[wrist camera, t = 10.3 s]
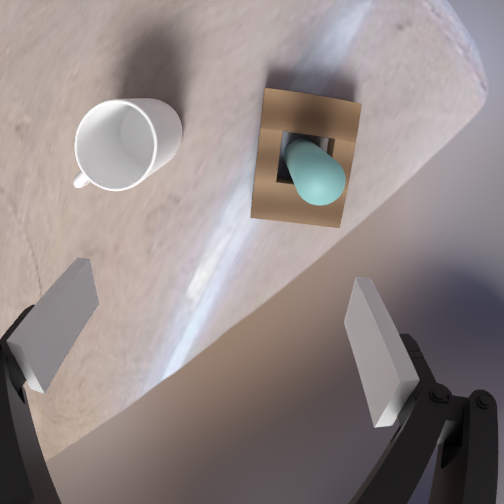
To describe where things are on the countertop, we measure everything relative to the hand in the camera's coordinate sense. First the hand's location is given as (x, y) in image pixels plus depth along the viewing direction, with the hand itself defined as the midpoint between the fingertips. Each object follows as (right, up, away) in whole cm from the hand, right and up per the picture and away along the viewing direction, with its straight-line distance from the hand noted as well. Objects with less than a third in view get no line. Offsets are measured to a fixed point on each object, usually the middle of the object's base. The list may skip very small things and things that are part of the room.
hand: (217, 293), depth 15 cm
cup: (-12, +15, +20) cm, 27 cm away
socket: (+7, +13, +20) cm, 25 cm away
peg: (+7, +13, +20) cm, 25 cm away
